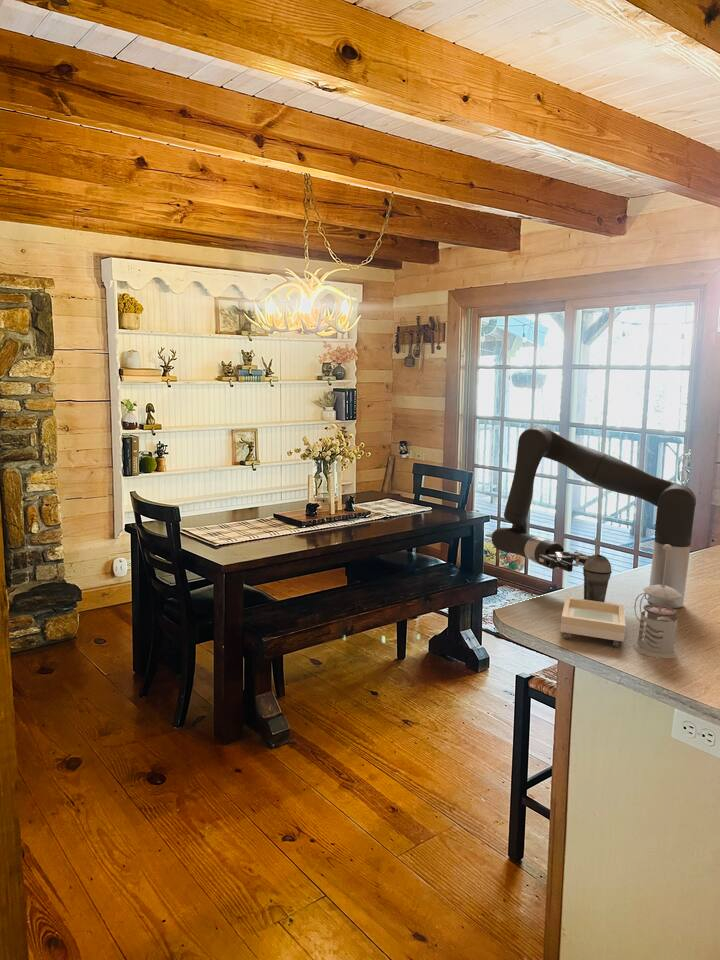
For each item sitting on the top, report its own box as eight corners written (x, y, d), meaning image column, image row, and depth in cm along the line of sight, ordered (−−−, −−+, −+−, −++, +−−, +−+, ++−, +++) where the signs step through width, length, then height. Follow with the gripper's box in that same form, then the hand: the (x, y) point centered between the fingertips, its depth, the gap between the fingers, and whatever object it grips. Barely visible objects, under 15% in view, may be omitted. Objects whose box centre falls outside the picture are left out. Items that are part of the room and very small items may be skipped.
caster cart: (563, 618, 181) (565, 596, 180) (621, 627, 177) (623, 605, 176) (559, 639, 166) (561, 616, 165) (622, 649, 162) (625, 625, 161)
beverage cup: (609, 618, 183) (617, 543, 180) (580, 615, 185) (587, 540, 182) (605, 609, 190) (612, 536, 187) (577, 606, 192) (584, 534, 189)
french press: (655, 660, 157) (668, 551, 153) (617, 641, 167) (628, 538, 163) (688, 655, 161) (701, 548, 157) (649, 637, 171) (660, 536, 167)
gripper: (525, 541, 201) (564, 555, 187) (564, 538, 207) (605, 551, 193) (523, 566, 202) (562, 582, 188) (561, 562, 208) (602, 578, 194)
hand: (583, 566), depth 190 cm, fingers open, 8 cm apart
